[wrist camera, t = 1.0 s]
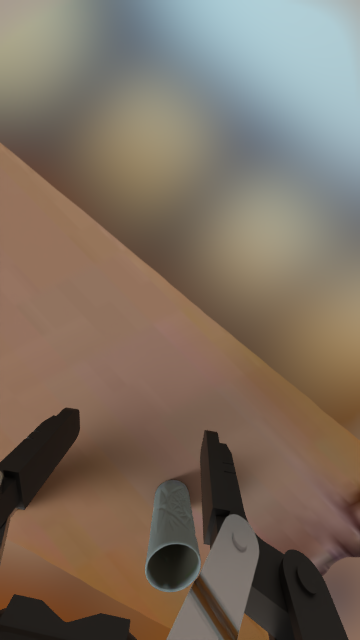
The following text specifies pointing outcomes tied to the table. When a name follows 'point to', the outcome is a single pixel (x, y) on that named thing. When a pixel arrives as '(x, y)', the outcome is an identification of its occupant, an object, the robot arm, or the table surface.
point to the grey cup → (172, 540)
